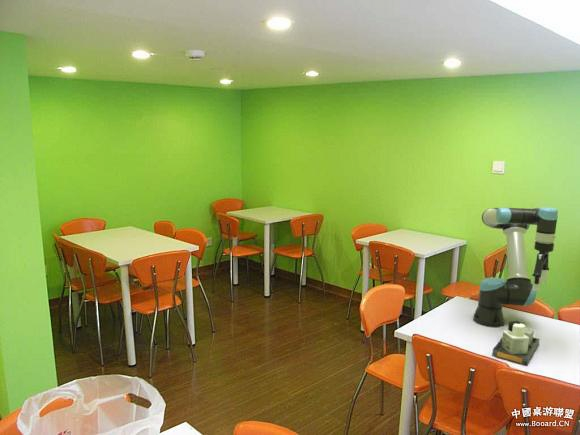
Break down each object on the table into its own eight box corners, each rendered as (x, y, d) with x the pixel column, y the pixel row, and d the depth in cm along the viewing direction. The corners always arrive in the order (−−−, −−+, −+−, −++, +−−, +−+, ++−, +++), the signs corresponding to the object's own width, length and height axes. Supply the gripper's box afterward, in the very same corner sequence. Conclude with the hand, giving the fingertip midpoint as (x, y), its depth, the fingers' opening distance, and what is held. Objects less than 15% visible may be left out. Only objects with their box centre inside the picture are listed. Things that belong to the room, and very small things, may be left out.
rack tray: (491, 356, 199) (492, 349, 198) (506, 336, 220) (507, 330, 219) (526, 366, 190) (527, 359, 190) (538, 344, 211) (539, 339, 210)
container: (501, 346, 205) (504, 319, 202) (517, 346, 205) (520, 319, 203) (510, 354, 197) (513, 326, 195) (527, 354, 198) (530, 326, 195)
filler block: (508, 340, 211) (509, 328, 210) (511, 335, 217) (513, 323, 216) (529, 346, 205) (530, 334, 204) (532, 340, 211) (534, 328, 210)
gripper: (548, 247, 190) (542, 295, 194) (558, 238, 209) (553, 282, 213) (529, 245, 195) (523, 291, 198) (540, 236, 214) (535, 279, 218)
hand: (539, 286), depth 206 cm, fingers open, 13 cm apart
